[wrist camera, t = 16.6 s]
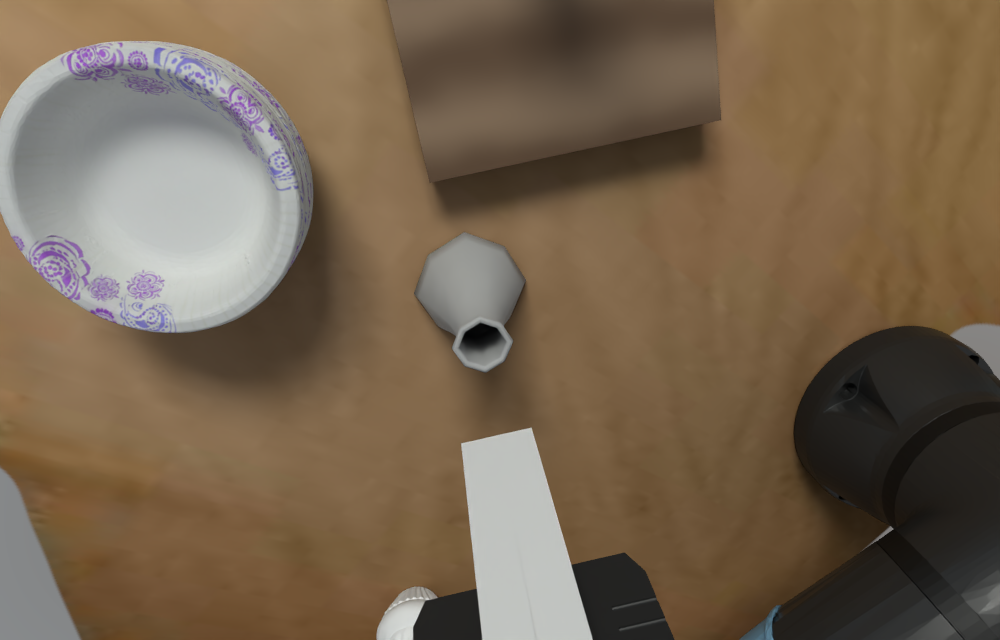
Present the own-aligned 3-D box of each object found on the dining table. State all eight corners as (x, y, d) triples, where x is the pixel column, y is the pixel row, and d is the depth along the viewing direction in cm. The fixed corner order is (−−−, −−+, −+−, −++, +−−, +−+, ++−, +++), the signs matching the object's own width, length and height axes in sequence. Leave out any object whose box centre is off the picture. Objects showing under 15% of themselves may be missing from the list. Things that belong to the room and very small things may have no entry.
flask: (543, 276, 48) (574, 334, 39) (477, 352, 49) (491, 425, 40) (461, 212, 45) (473, 257, 36) (395, 294, 47) (390, 357, 38)
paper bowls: (57, 263, 44) (-14, 309, 37) (64, 8, 39) (-18, 2, 31) (302, 309, 47) (281, 360, 40) (340, 78, 42) (323, 87, 34)
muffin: (464, 614, 58) (470, 686, 52) (396, 638, 59) (394, 713, 52) (437, 561, 56) (439, 629, 50) (366, 586, 56) (360, 658, 50)
